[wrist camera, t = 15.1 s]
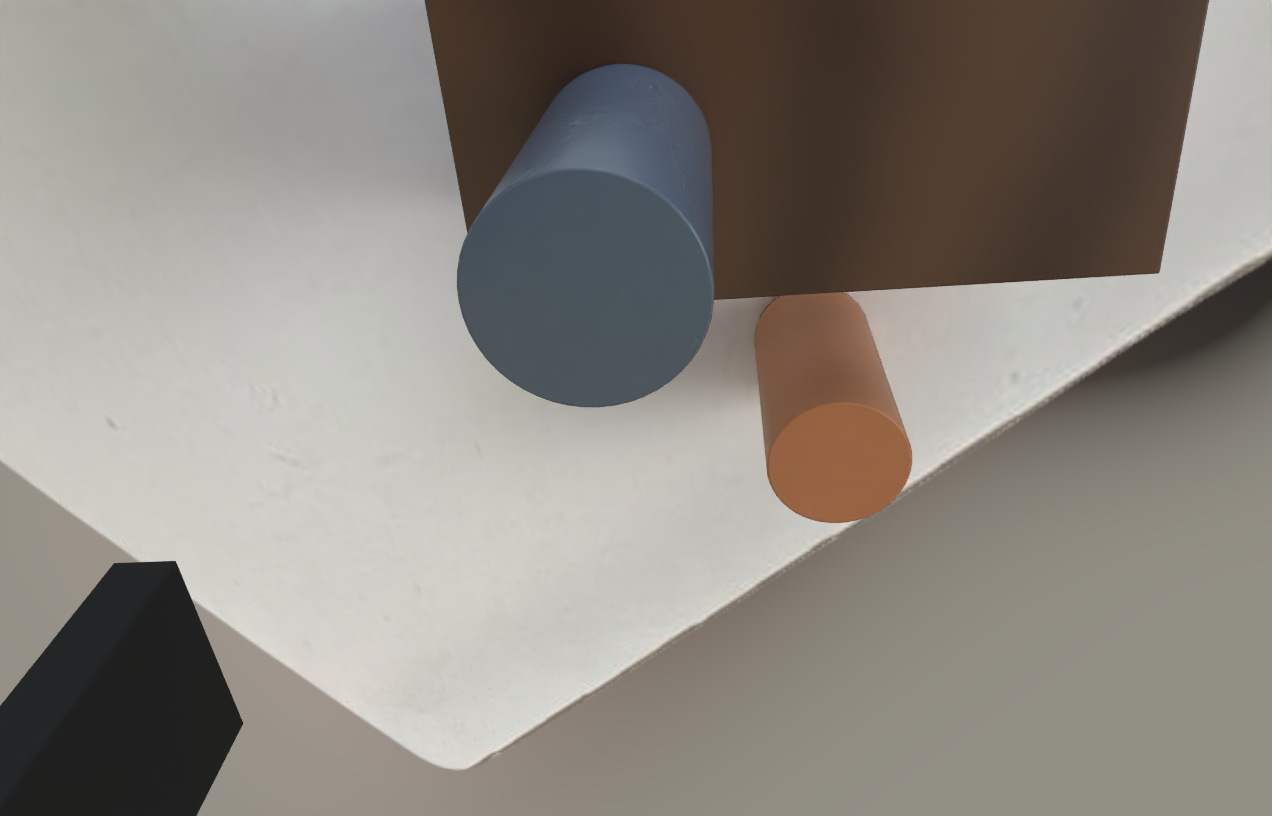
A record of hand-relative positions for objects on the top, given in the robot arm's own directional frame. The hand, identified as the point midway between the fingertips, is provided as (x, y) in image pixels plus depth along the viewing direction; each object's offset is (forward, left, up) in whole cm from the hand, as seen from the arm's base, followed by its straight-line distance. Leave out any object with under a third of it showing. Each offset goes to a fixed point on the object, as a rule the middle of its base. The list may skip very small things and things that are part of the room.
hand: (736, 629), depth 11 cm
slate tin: (-3, +1, -18) cm, 18 cm away
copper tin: (+3, -10, -29) cm, 31 cm away
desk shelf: (+2, +1, -29) cm, 29 cm away
